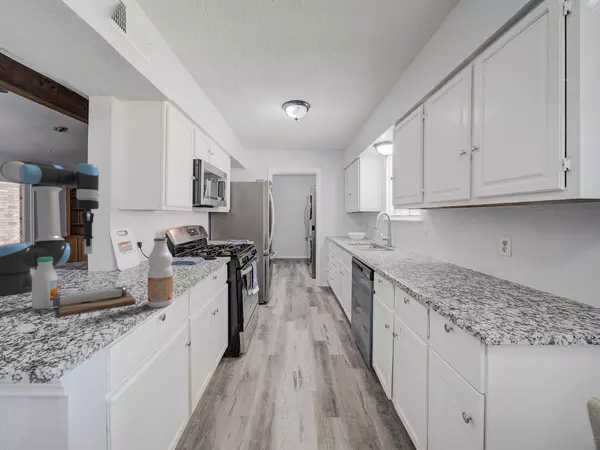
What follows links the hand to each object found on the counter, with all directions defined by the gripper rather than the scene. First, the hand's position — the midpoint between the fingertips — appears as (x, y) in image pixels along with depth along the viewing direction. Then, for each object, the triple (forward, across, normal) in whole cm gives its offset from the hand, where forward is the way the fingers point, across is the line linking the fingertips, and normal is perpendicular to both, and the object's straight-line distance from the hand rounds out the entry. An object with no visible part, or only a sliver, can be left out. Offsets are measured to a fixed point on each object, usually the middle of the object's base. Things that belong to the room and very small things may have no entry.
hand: (88, 253), depth 118 cm
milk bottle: (+21, -1, +14) cm, 25 cm away
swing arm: (+18, -8, -1) cm, 20 cm away
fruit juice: (+21, -26, -23) cm, 41 cm away
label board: (+20, -11, -3) cm, 23 cm away
